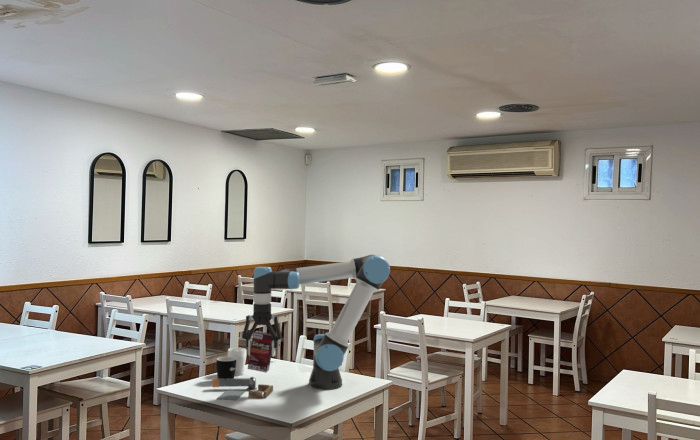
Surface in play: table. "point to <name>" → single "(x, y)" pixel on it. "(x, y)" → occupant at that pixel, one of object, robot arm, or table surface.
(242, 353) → the cup
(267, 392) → the cradle
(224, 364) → the mug
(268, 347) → the supplement box
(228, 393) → the slate mat
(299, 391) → the table surface
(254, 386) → the lever
